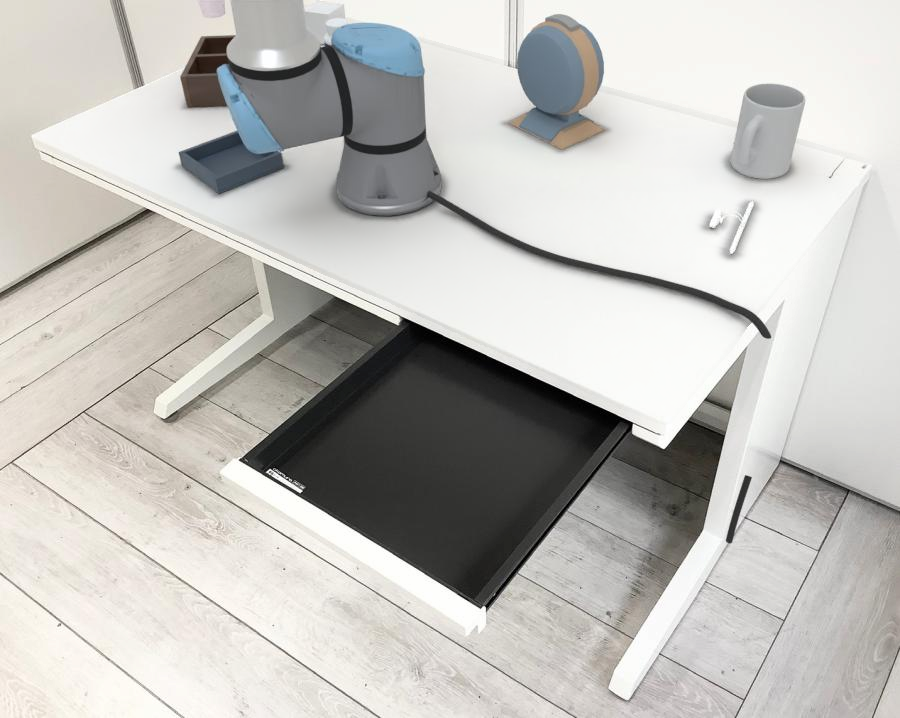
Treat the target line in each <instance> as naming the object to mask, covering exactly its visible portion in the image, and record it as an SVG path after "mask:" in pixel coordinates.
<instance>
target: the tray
mask: <svg viewBox="0 0 900 718" xmlns="http://www.w3.org/2000/svg"><path fill="white" fill-rule="evenodd" d="M178 156H179V161H180V164H181V167H182V168H183V169H184V170H186V172H188V173H190V174H191V175H192V176H194V177H195V178H197V180H199V181H200V182H202V183H203V184H205V185H206V186H207V187H209V188H210V189H211V190H213V191H214V192H215V193H217V194H218V195H220V194H222V193H225V192H227V191H230V190H233V189H235V188H238V187H239V186H243V185H245V184H247V183H250V182H253V181H255V180H258V179H260V178H262V177H265V176H267V175H270V174H271V173H275V172H277V171H279V170H282V169H284V168H285V166H284V159H283V153H282V152H280V151H273V152H268V153H262V154H256V153H253V152H251V151H249V150H248V149H247V148H246V146H245V145H244V143H243V141H242V139H241V137H240V135H239V133H238V131H237V130H234V131H232V132H230V133H227V134H224V135H221V136H218V137H216V138H213V139H211V140H207V141H205V142H202V143H199V144H197V145H194V146H191V147H189V148H186V149H183V150H181V151H178Z"/></svg>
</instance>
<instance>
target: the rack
mask: <svg viewBox="0 0 900 718" xmlns="http://www.w3.org/2000/svg"><path fill="white" fill-rule="evenodd" d="M235 36H236V34H230V35H226V34H225V35H205V36H204V35H203V36H202V35H201V36H200V37H199V40H198V41H197V43H196V44H195V47H194V49H193V51H192V53H191V55H190V56H189V58H188V61H187V63H186V64H185V66H184V69H183V70H182V72H181V74H180V76H179V78H180V82H181V86H182V87H181V88H182V90H183V96H184V100H185V103H186V104H185V105H186V106H187V108H208V107H228V106H227V104H226V101H225V98H224V95H223V92H222V90H221V86H220V83H219V80H218V74H217V69H218V68H219V67H220V66H222V65H223V64H229V63H228V57H227V46H228V44H229V43H230V42H231V40H232V39H233V38H234V37H235Z"/></svg>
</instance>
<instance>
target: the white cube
mask: <svg viewBox="0 0 900 718" xmlns="http://www.w3.org/2000/svg"><path fill="white" fill-rule="evenodd" d="M304 13H305V21H306V29H307V30H309V31H310V32H311V33H313V34H314V35H315V36H316V37H317V38H318V39H319V42H320V45H324V36H325V35H326V34H327V33H328V32H327V31H326V22H327V21H328V20H330V19H335V18H342V19H346V8H345V4H344V3H340V2H331V1H325V0H316V1H314V2H312V3H311V4H309V5H308V6H306V7H304ZM346 20H347V19H346Z"/></svg>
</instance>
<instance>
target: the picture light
mask: <svg viewBox="0 0 900 718" xmlns="http://www.w3.org/2000/svg"><path fill="white" fill-rule="evenodd" d="M754 203H755V202H754V201H753V200H751V201H750V202H748V204H747V207H746V210H745V212H744V214H743V216H742V214H741V213H739V212H738V211H733V214H731V213H732V211H728V212H726V213H724V214H723V216H722V210H721V209H715V211H714V212H713V214H712V217H711V219H710V221H709V226H708V227H709V228H712V229H716V227H717V225H719V224H722V223H723V221H724V219H725V218H726V217H731V216H733V217H736V218H737V219H738V220H739V221H740V224H739V226H738V229H737V230H736V234H735V236H734V238H733V241H732V242H731V245H730V247H729V254H730V255H732V254H734V252H735V251H736V250H737V246H738V244H739V241H740V239H741V236H742V234H743V231H744V229H745V227H746V225H747V223H748V220H749V217H750V215H751V212H752V211H753V208H754ZM734 213H735V214H734ZM736 214H737V215H736ZM738 215H739V216H738ZM740 217H741V218H740Z"/></svg>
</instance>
